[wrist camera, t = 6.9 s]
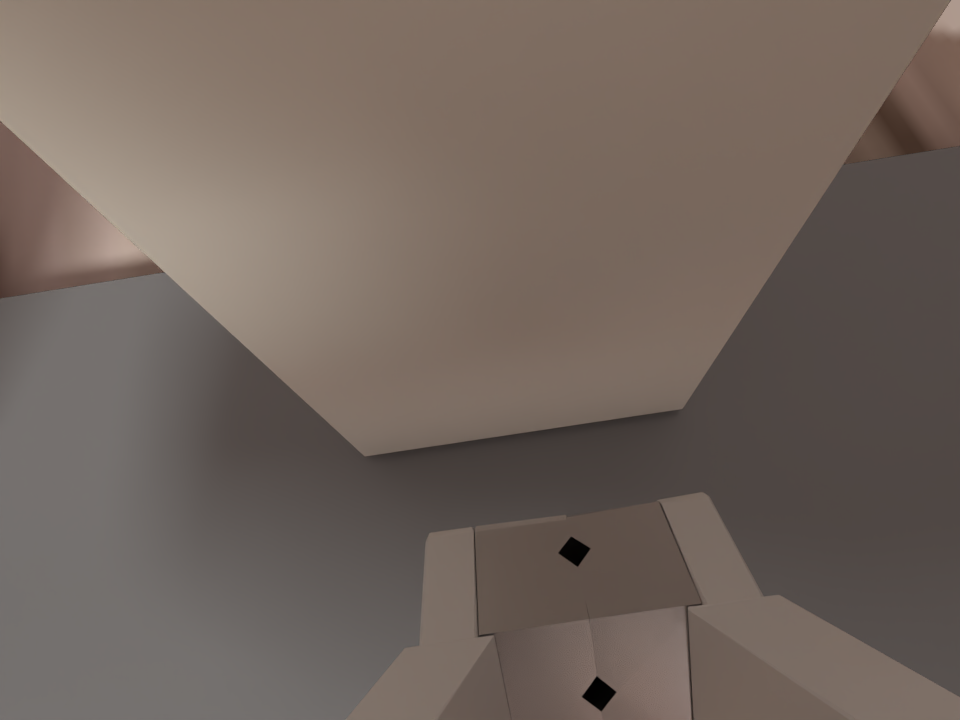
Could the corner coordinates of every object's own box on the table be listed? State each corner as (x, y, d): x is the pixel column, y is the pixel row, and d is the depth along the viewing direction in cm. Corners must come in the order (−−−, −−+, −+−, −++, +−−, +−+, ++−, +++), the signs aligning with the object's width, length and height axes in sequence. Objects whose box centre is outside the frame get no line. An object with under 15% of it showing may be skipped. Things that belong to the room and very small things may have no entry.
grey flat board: (1871, 696, 12) (2008, 704, 11) (-568, 1015, 13) (-671, 1052, 12) (1448, 97, 16) (1516, 57, 15) (-392, 386, 17) (-456, 370, 16)
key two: (682, 408, 14) (1305, -540, 3) (364, 456, 14) (-382, -232, 3) (636, 211, 15) (899, -959, 4) (348, 256, 15) (-184, -740, 4)
